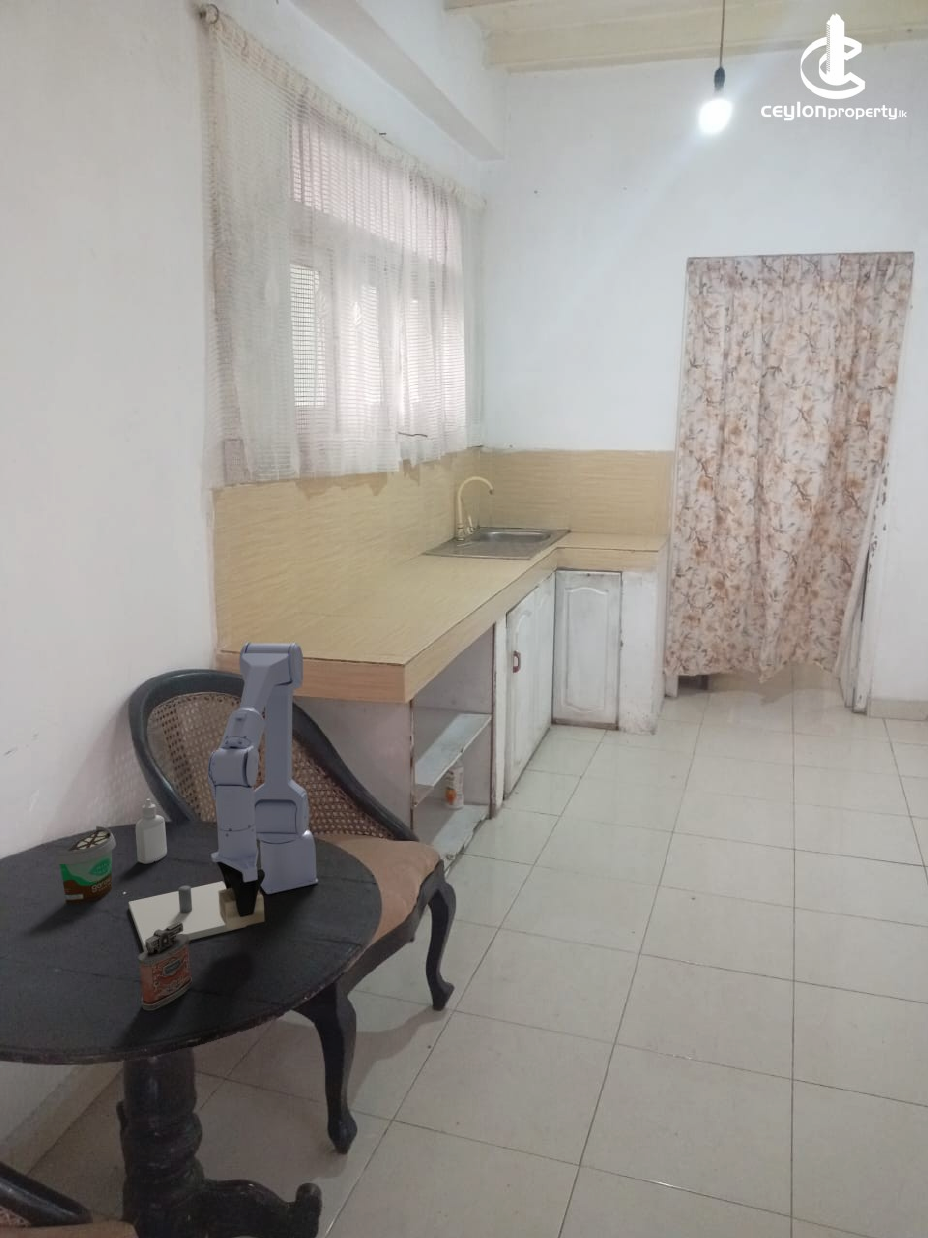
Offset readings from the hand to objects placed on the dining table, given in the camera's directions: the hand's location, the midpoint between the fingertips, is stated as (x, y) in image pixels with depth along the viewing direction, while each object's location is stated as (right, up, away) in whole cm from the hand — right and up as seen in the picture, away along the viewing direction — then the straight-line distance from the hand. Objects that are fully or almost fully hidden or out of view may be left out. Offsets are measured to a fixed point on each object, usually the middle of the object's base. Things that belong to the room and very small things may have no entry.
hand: (241, 906), depth 144 cm
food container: (-30, -4, +20) cm, 36 cm away
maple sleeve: (0, -2, 0) cm, 2 cm away
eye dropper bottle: (-25, -1, +34) cm, 42 cm away
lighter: (-8, -9, -12) cm, 17 cm away
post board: (-12, -5, +11) cm, 17 cm away
